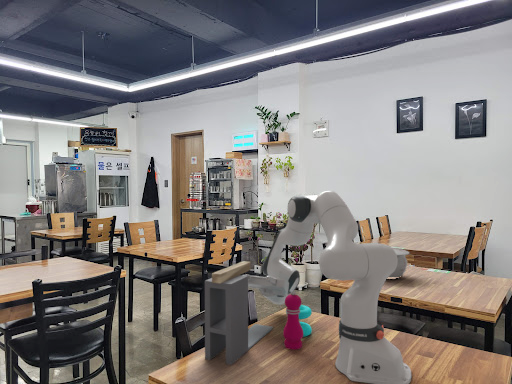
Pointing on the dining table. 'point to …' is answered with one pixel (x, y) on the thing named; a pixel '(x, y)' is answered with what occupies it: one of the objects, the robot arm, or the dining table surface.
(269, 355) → the dining table surface
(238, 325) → the stand
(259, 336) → the mat
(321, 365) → the dining table surface
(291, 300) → the pepper mill
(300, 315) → the donuts
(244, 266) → the bar
